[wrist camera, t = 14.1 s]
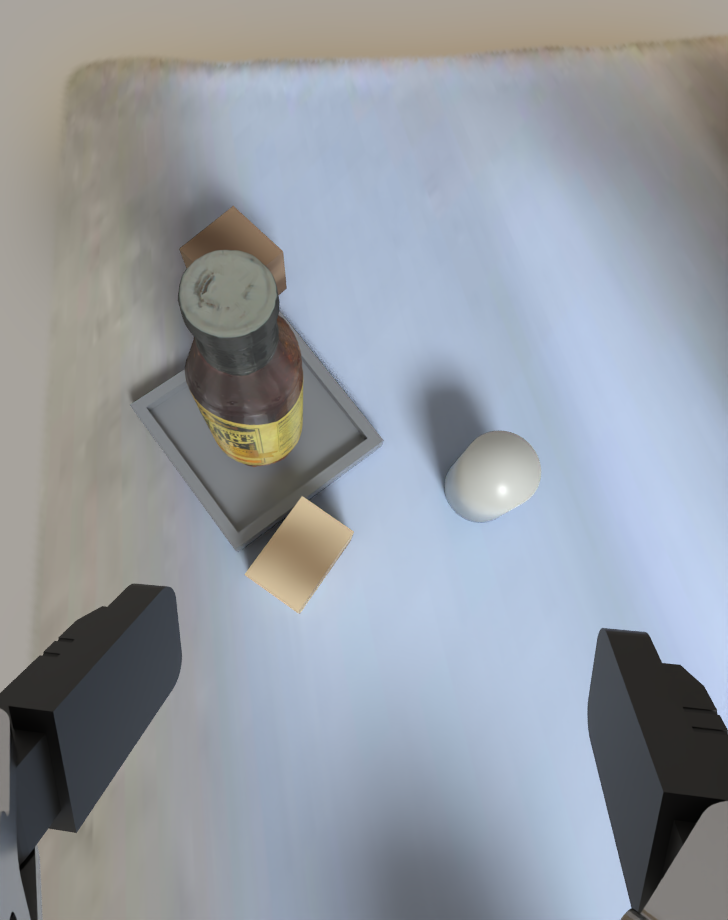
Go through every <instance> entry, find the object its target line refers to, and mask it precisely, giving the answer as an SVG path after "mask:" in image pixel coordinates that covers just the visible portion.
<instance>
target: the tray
mask: <svg viewBox="0 0 728 920" xmlns="http://www.w3.org/2000/svg"><path fill="white" fill-rule="evenodd" d="M278 315H279V316H280V317H282V318H284V320H285V321H286V322H287V324H288V325H289V326H290V328H291V330H292V331H293V332H294V334H295V336H296V339H297V341H298V345H299V348H300V351H301V358H302V368H303V426H302V431H301V435H300V438H299V440H298V443H297V444H296V445H295V447H294V448H293V450H291V452H290V453H289V454H288V456H287V457H286V458H284V459H283V460H281V461H278V462H276V463H273V464H270V465H264V466H256V467H251V466H247V465H245V464H243V463H240V462H238V461H236V460H234V459H232V458H231V457H229V456H228V455H227V454H226V453H225V452H224V451H222V449H221V448H220V447H219V446H218V444H217V442H216V441H215V439H214V437H213V435H212V433H211V431H210V429H209V428H208V425H207V423H206V422H205V420H204V418H203V416H202V414H201V413H200V410H199V408H198V406H197V404H196V402H195V400H194V398H193V396H192V394H191V392H190V390H189V387H188V385H187V382H186V378H185V369H184V370H183V371H181V372H180V373H178V374H177V375H175V376H173V377H172V378H170V379H169V380H167V381H166V382H164V383H163V384H161V385H160V386H158V387H156V388H155V389H153V390H152V391H150V392H149V393H147V394H146V395H144V396H143V397H141V398H140V399H138V400H136V401H135V402H133V403H132V404H130V406H131V407H132V409H133V410H134V412H135V413H136V414H137V416H138V417H139V418H140V420H141V421H142V423H143V424H144V425H145V427H146V428H147V429H148V431H149V432H150V434H151V435H152V436H153V438H154V439H155V440H156V442H157V443H158V445H159V446H160V447H161V449H162V450H163V451H164V453H165V454H166V456H167V457H168V458H169V460H170V461H171V462H172V464H173V465H174V467H175V468H176V469H177V471H178V472H179V473H180V475H181V476H182V478H183V479H184V480H185V482H186V483H187V484H188V486H189V487H190V489H191V490H192V491H193V493H194V494H195V495H196V497H197V498H198V500H199V501H200V502H201V504H202V505H203V506H204V508H205V509H206V511H207V512H208V513H209V515H210V516H211V517H212V519H213V520H214V522H215V523H216V524H217V526H218V527H219V528H220V530H221V531H222V532H223V534H224V535H225V537H226V538H227V539H228V541H229V542H230V543H231V545H232V546H233V548H234V549H235V550H236V551H237V552H239V551H240V550H241V549H243V548H244V547H246V546H247V545H248V544H250V543H251V542H252V541H254V540H255V539H256V538H258V537H259V536H260V535H262V534H263V533H265V532H266V531H267V530H269V529H270V528H271V527H273V526H274V525H275V524H277V523H278V522H279V521H281V520H282V519H284V518H285V517H286V516H288V515H289V513H290V512H291V511H292V509H293V508H294V506H295V505H296V504H297V502H298V501H299V500H300V498H301V497H302V496H303V497H304V498H306V499H307V500H309V499H311V498H312V497H313V496H315V495H316V494H317V493H319V492H320V491H322V490H323V489H324V488H326V487H327V486H328V485H330V484H331V483H332V482H334V481H335V480H336V479H338V478H339V477H341V476H342V475H343V474H345V473H346V472H347V471H349V470H350V469H351V468H353V467H354V466H355V465H357V464H358V463H360V462H361V461H362V460H364V459H365V458H366V457H368V456H369V455H370V454H372V453H373V452H374V451H376V450H377V449H379V448H380V447H381V446H382V444H383V441H384V440H383V439H382V438H381V437H380V435H379V434H378V433H377V432H376V430H375V429H374V428H373V427H372V425H371V424H370V423H369V422H368V420H367V419H366V418H365V417H364V415H363V414H362V413H361V412H360V410H359V409H358V408H357V407H356V405H355V404H354V403H353V402H352V400H351V399H350V398H349V397H348V395H347V394H346V393H345V392H344V390H343V389H342V388H341V387H340V385H339V384H338V383H337V382H336V381H335V379H334V378H333V377H332V376H331V374H330V373H329V372H328V371H327V369H326V368H325V367H324V366H323V364H322V363H321V362H320V361H319V359H318V358H317V357H316V356H315V354H314V353H313V352H312V351H311V349H310V348H309V347H308V346H307V344H306V343H305V342H304V341H303V339H302V338H301V337H300V336H299V334H298V333H297V332H296V331H295V329H294V328H293V327H292V326H291V324H290V323H289V322H288V321H287V319H286V318H285V317H284V316H283V315H282V313H281V312H280V311H279V314H278Z"/></svg>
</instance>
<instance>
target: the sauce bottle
mask: <svg viewBox="0 0 728 920" xmlns="http://www.w3.org/2000/svg"><path fill="white" fill-rule="evenodd" d="M178 302H179V306H180V309H181V314H182V317H183V320H184V322H185V324H186V326H187V328H188V329H189V330H190V332H191V333H192V334H193V336H194V340H193V343H192V346H191V349H190V352H189V355H188V358H187V360H186V365H185V378H186V382H187V385H188V387H189V390H190V392H191V394H192V396H193V398H194V400H195V402H196V404H197V406H198V408H199V410H200V413H201V414H202V416H203V418H204V420H205V422H206V423H207V425H208V428H209V429H210V431H211V433H212V435H213V437H214V439H215V441H216V442H217V444H218V446H219V447H220V448H221V449H222V451H224V452H225V453H226V454H227V455H228V456H229V457H231V458H232V459H234V460H236V461H238V462H240V463H243V464H245V465H247V466H251V467H256V466H264V465H270V464H273V463H276V462H278V461H281V460H283V459H284V458H286V457H287V456H288V454H289V453H290V452H291V450H293V448H294V447H295V445H296V444H297V443H298V440H299V438H300V435H301V431H302V426H303V368H302V358H301V351H300V348H299V345H298V341H297V339H296V336H295V334H294V332H293V331H292V330H291V328H290V326H289V325H288V324H287V322H286V321H285V320H284V318H282V317H280V316H279V315H278V314H279V296H278V290H277V285H276V282H275V279H274V277H273V275H272V273H271V272H270V270H269V269H268V268H267V267H266V266H265V265H264V264H263V263H262V262H261V261H259V260H258V259H257V258H256V257H255V256H253V255H251V254H249V253H246V252H242V251H238V250H216V251H213V252H210V253H207V254H205V255H203V256H202V257H200V258H198V259H196V260H195V261H194V262H193V263H192V264H191V265H190V266H189V267H188V268H187V269H186V271H185V272H184V274H183V276H182V278H181V282H180V286H179V293H178Z"/></svg>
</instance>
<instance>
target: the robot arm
mask: <svg viewBox="0 0 728 920" xmlns="http://www.w3.org/2000/svg"><path fill="white" fill-rule="evenodd" d="M181 662H182V651H181V642H180V632H179V623H178V613H177V604H176V596H175V593H174V591H173V589H172V588H171V587H166V586H155V585H144V584H131V585H129V586H128V587H127V588H126V589H125V590H124V591H123V592H122V593H121V594H120V595H119V596H118V597H117V598H116V599H115V600H114V601H113V602H112V603H111V604H110V605H109V606H108V607H104V606H102V607H100V608H98V609H96V610H95V611H93V612H91V613H89V614H87V615H85V616H84V617H82V618H80V619H78V620H77V621H75V622H74V623H73V624H72V625H71V626H70V627H69V628H68V629H67V630H66V631H65V632H64V633H63V634H62V635H61V636H60V637H59V640H58V641H54V642H53V643H52V644H51V645H50V646H49V647H48V648H47V649H46V650H45V651H44V654H43V656H39V657H38V658H37V659H36V660H34V661H33V662H32V663H31V664H30V665H29V666H28V667H27V668H26V669H25V670H24V671H23V672H22V673H21V674H20V675H19V676H18V677H17V678H16V679H15V680H13V682H11V683H10V684H9V685H8V686H7V687H6V688H5V689H4V690H3V691H2V692H1V693H0V920H43V919H42V897H41V875H40V856H39V851H38V846H37V843H38V842H39V840H40V839H41V838H42V836H43V835H44V833H45V832H46V831H47V829H48V828H50V829H56V830H62V831H69V832H75V833H77V831H78V830H79V828H80V827H81V825H82V824H83V822H84V821H85V819H86V818H87V816H88V815H89V813H90V812H91V810H92V809H93V807H94V806H95V804H96V803H97V801H98V800H99V798H100V797H101V795H102V794H103V792H104V791H105V789H106V788H107V786H108V785H109V783H110V782H111V780H112V779H113V777H114V776H115V774H116V773H117V772H118V770H119V769H120V767H121V766H122V764H123V763H124V761H125V760H126V758H127V757H128V755H129V754H130V752H131V751H132V749H133V748H134V746H135V745H136V743H137V742H138V740H139V739H140V737H141V736H142V734H143V733H144V731H145V730H146V728H147V727H148V725H149V724H150V722H151V721H152V719H153V718H154V716H155V715H156V713H157V712H158V710H159V709H160V707H161V706H162V704H163V703H164V701H165V700H166V698H167V697H168V695H169V694H170V692H171V691H172V689H173V688H174V686H175V684H176V682H177V679H178V676H179V673H180V669H181ZM588 730H589V737H590V741H591V745H592V749H593V753H594V757H595V761H596V765H597V769H598V774H599V778H600V782H601V786H602V790H603V794H604V798H605V802H606V806H607V810H608V814H609V818H610V822H611V826H612V830H613V834H614V838H615V842H616V847H617V851H618V855H619V859H620V863H621V867H622V871H623V875H624V879H625V883H626V887H627V891H628V895H629V899H630V903H631V907H632V909H630V910H628V911H627V912H626V913H625V915H624V916H623V917H622V918H621V920H728V730H727V728H726V726H725V724H724V722H723V721H722V719H721V717H720V715H717V709H716V707H715V706H714V704H713V702H712V700H711V698H710V696H709V694H708V693H707V691H706V689H705V687H704V686H703V685H702V684H701V683H700V682H699V681H698V680H696V679H695V678H694V677H693V676H692V675H691V674H690V673H689V672H688V671H686V670H685V669H684V668H683V667H682V666H681V665H676V664H666V663H662V662H661V660H660V658H659V655H658V653H657V651H656V649H655V647H654V645H653V642H652V640H651V638H650V636H649V635H648V633H646V632H639V631H629V630H618V629H607V628H602V629H601V630H600V631H599V634H598V639H597V645H596V651H595V658H594V665H593V671H592V678H591V684H590V691H589V698H588Z"/></svg>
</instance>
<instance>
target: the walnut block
mask: <svg viewBox="0 0 728 920" xmlns="http://www.w3.org/2000/svg"><path fill="white" fill-rule="evenodd" d="M216 250H238V251H242V252H246V253H249V254H251V255H253V256H255V257H256V258H257V259H258V260H259V261H261V262H262V263H263V264H264V265H265V266H266V267H267V268H268V269H269V270H270V272H271V273H272V275H273V277H274V279H275V282H276V285H277V290H278V295H279V294H281V293H282V292H283V291H284V290H285V289H286V277H285V267H284V257H283V251H282V250H281V249H280V248H279V247H278V246H276V245H275V244H274V243H273V242H272V241H271V240H270V239H269V238H268V237H267V236H266V235H264V234H263V233H262V232H261V231H260V230H259V229H258V228H257V227H256V226H255V225H254V224H252V223H251V222H250V221H249V220H248V219H247V218H246V217H245V216H244V215H243V214H242V213H240V212H239V211H238V210H237V209H236V208H235V207H234V206H233V207H231V208H230V209H229V210H228V211H226V212H225V213H224V214H223V215H221V216H220V217H219V218H218V219H216V220H215V221H214V222H212V223H211V224H210V225H209V226H207V227H206V228H205V229H204V230H202V231H201V232H200V233H199V234H197V235H196V236H195V237H194V238H192V239H191V240H190V241H189V242H187V243H186V244H185V245H184V246H182V247H181V248H180V252H181V255H182V257H183V260H184V263H185V265H186V268H188V267H189V266H190V265H191V264H192V263H193V262H194V261H195V260H196V259H198V258H200V257H202V256H203V255H205V254H207V253H210V252H213V251H216Z"/></svg>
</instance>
